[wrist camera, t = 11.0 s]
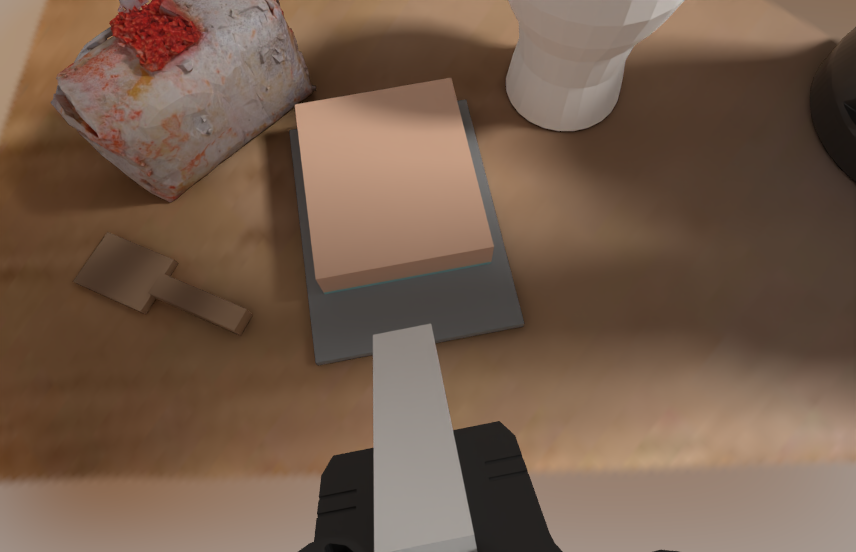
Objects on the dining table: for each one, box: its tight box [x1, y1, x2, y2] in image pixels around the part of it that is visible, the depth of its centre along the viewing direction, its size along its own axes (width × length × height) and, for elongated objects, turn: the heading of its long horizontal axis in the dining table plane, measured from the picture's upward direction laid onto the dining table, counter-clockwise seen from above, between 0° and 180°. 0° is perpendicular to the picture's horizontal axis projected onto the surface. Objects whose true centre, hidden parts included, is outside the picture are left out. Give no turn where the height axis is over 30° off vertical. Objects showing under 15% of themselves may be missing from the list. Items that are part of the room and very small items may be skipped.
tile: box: [295, 78, 494, 294], centre depth 35 cm, size 2×10×12 cm
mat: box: [289, 100, 524, 365], centre depth 35 cm, size 16×12×1 cm
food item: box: [51, 0, 316, 202], centre depth 35 cm, size 14×8×10 cm, turn 134°
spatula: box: [73, 232, 253, 336], centre depth 34 cm, size 11×4×1 cm, turn 67°
